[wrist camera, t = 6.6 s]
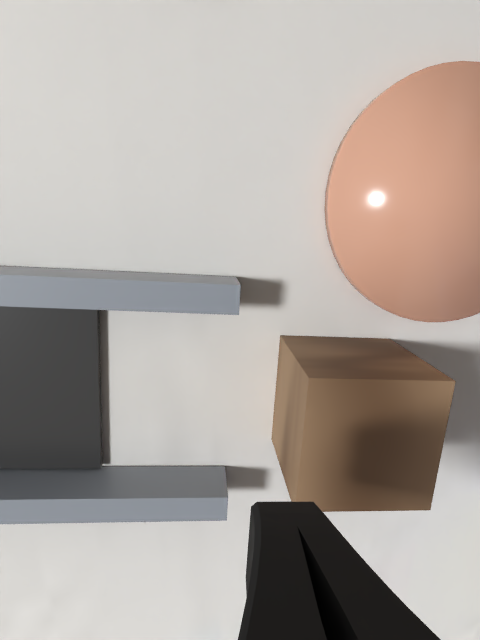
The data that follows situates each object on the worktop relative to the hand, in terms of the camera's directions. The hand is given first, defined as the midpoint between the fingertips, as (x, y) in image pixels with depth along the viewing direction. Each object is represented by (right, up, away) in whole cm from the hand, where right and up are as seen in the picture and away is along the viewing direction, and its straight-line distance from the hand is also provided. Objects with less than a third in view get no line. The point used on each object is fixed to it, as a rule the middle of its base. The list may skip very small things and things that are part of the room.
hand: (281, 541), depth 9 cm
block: (+3, +2, +8) cm, 9 cm away
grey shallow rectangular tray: (-7, +2, +7) cm, 10 cm away
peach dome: (+7, +9, +7) cm, 13 cm away
